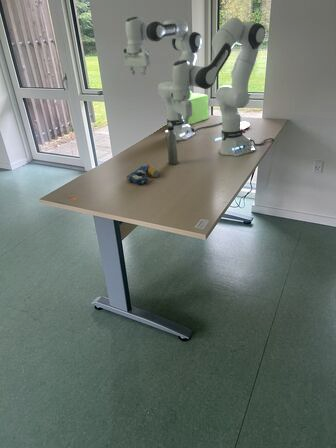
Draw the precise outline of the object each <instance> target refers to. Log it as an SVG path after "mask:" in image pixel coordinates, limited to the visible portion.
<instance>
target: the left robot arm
mask: <svg viewBox="0 0 336 448" xmlns="http://www.w3.org/2000/svg"><path fill="white" fill-rule="evenodd" d="M125 36H126V39H127V43H126V44H127V46H126V47H125V48H123V49H122V54H123V56H122V57H123V65H124V66H125V67H128V68H129V70H130V74H131V75H136V71H135V70H134V68H138V67H139V68H141V69H142V71H141V76H145V75H146V74H147V73H146V71H147V68H148V67H151V65H152V62H151V56H150V54H149V51H148V50H147V48H144V46H143V45H144V44H143V42H156V43H157V42H160V41H161V40H162V39H163V38H165V39H167V40H171V45H172V48H173V49H174V50H176V51H179V52H180V51H181V56H180V57H179V59H178V61H181V60H187V61H188V62H189V63H190V64H192V65H195V63H196V60H197V53H198V52H199V51H200V49H201V46H202V45H203V38H202V35H201V33H199V32H197V31H189V25H188V23H187V22H186V20H184V19H180V18H171V19H167V20H164V22H163V23H161V22H160V21H157V20H156V21H150V22H144V21H142V20H141V19H140V18H139V17H138V16H132V17H128V18H127V19H126V20H125ZM173 86H174V85H173V81H169V80H166V81H162V82H160V83H159V84H158V86H157V94H158V96H159V97H160V98H161V99H162V101H163V103H164V105H165V108H166V116H167V119H166V124H167V127H168V126H174V130H173V131H174V132H175V133H176V142H177V141H186V140H188V139H190V138H191V137H193V136H195V135H196V133H195V132H197V131H198V130H200V129H206V128H210V127H216V126H219V125H222V122H220V123H219V122H218V123H216V124H211V125H207V126H200V127H198V128H196V129H195V128H193V127H192V126H191V125H188V124H186V125H185V124H184V120H185V118H183V115H181V117H182V120H181V121H179V120H178V117H177V112H176V111H174V109H173V104H172V97H171V93H172V92H173ZM168 132H169V130H168V128H166V130H165V133H166V134H167V133H168Z"/></svg>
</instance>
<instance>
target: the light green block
mask: <svg viewBox="0 0 336 448" xmlns="http://www.w3.org/2000/svg"><path fill="white" fill-rule="evenodd" d="M189 101H191V104H192V117H189V119H188V125H189V126H191V125H192V124H196V123H199V122H202V121H205V120H208V119H209V94H203V93H202V94H201V93H195V92H193V91H191V90H190V99H189ZM183 118H184V116H183Z"/></svg>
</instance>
